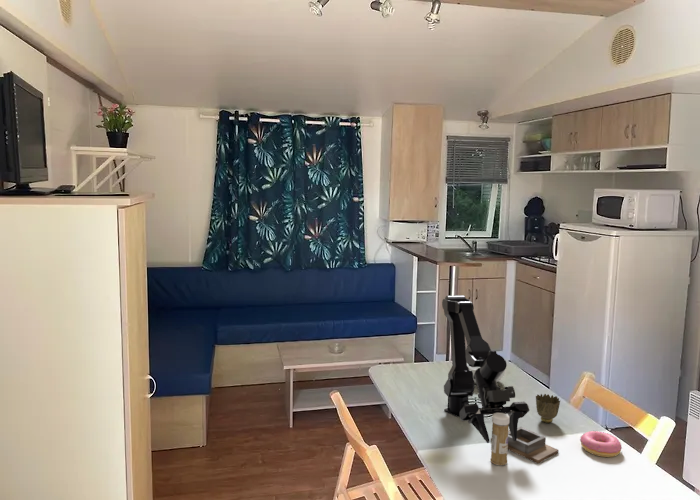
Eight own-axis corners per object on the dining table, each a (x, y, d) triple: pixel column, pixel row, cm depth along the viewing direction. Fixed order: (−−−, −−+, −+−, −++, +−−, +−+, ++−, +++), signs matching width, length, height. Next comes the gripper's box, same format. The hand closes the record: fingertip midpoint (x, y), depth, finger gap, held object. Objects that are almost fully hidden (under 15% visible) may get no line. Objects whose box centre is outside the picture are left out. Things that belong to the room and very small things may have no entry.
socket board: (490, 441, 160) (491, 430, 160) (511, 432, 166) (511, 421, 166) (537, 463, 148) (538, 451, 147) (558, 453, 154) (559, 441, 153)
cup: (560, 427, 170) (562, 403, 169) (536, 425, 172) (537, 401, 171) (556, 417, 177) (558, 394, 176) (533, 415, 179) (534, 392, 178)
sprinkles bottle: (507, 467, 146) (509, 419, 144) (489, 464, 147) (491, 417, 145) (507, 459, 150) (509, 413, 148) (490, 456, 151) (492, 410, 150)
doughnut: (629, 458, 152) (630, 444, 151) (594, 460, 150) (595, 446, 150) (605, 440, 162) (606, 427, 162) (572, 442, 161) (573, 429, 160)
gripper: (464, 376, 148) (477, 433, 139) (528, 374, 151) (545, 429, 141) (453, 393, 157) (465, 447, 147) (514, 390, 159) (529, 443, 150)
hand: (501, 441), depth 146 cm, fingers open, 7 cm apart
